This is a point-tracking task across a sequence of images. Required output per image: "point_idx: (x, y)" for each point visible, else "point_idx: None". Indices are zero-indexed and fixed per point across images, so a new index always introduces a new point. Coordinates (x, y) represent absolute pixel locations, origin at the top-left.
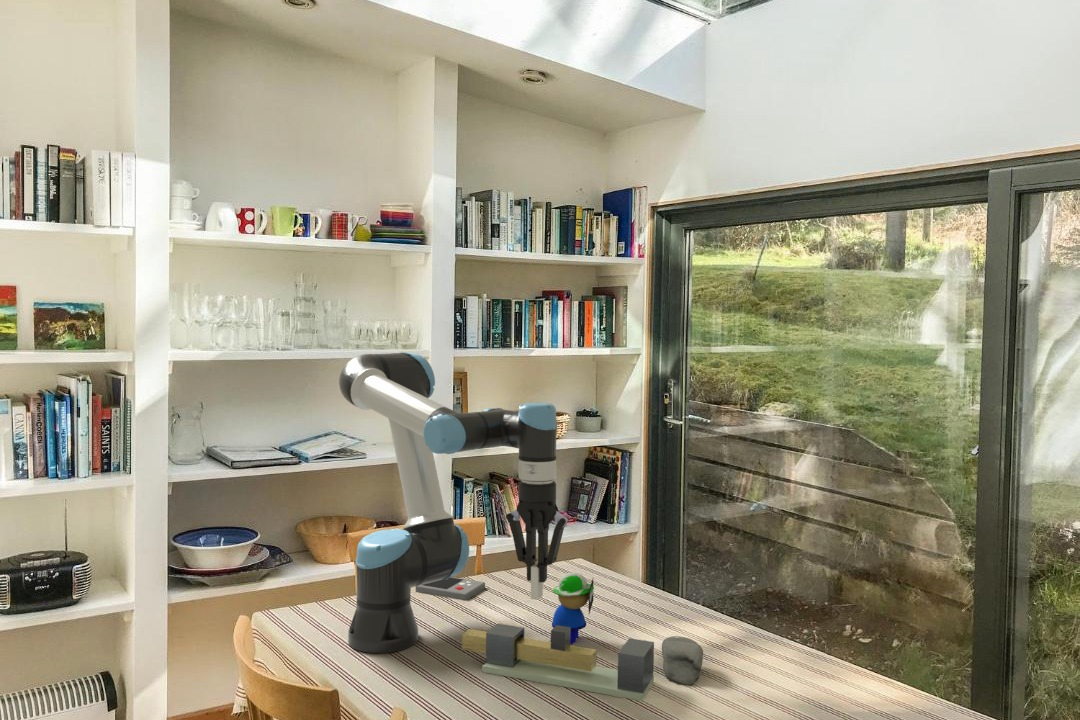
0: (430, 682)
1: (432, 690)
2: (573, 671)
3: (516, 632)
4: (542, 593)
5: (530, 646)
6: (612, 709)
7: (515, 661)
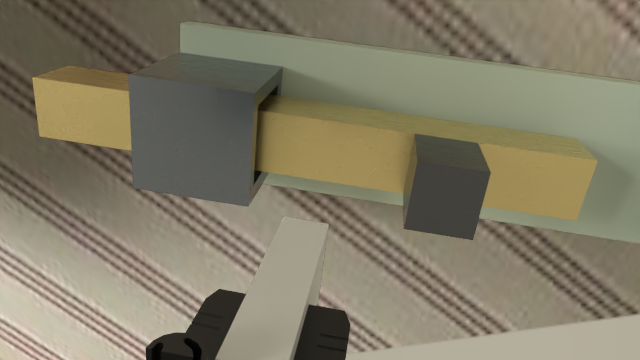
0: (92, 253)
1: (121, 291)
2: None
3: (241, 154)
4: (326, 235)
5: (319, 177)
6: (615, 307)
7: None
